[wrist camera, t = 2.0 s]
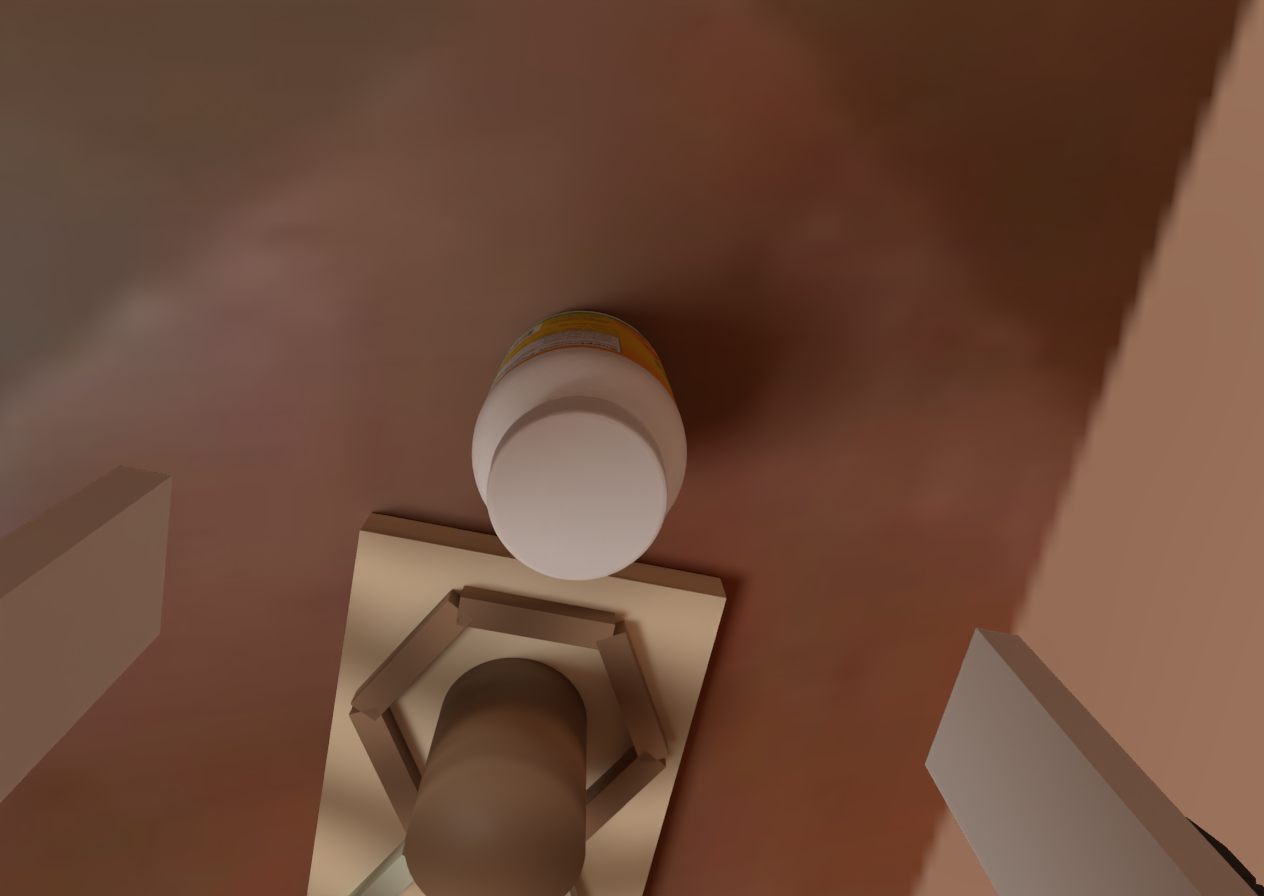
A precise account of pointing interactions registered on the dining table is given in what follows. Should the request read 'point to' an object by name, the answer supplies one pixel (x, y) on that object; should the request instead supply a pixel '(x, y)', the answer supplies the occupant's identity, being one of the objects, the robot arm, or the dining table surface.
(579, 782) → the walnut dowel stub
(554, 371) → the supplement bottle
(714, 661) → the dining table surface
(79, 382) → the dining table surface
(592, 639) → the board
